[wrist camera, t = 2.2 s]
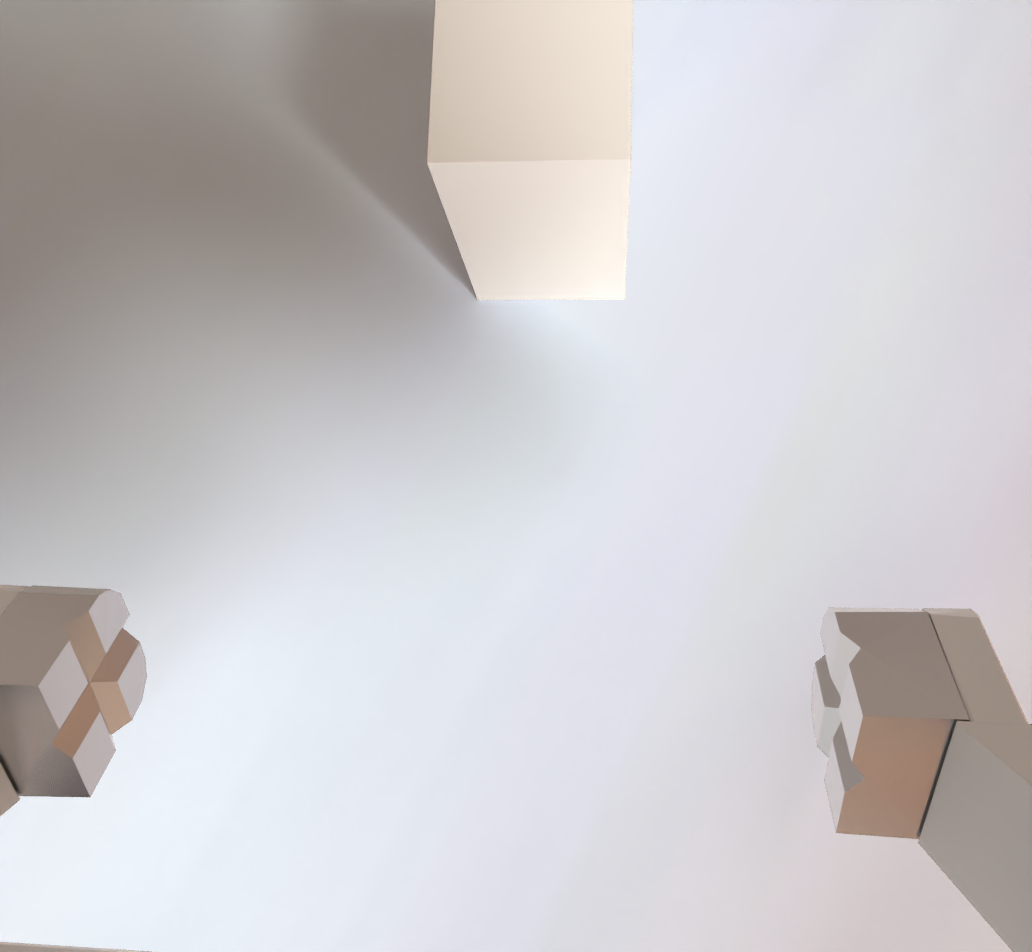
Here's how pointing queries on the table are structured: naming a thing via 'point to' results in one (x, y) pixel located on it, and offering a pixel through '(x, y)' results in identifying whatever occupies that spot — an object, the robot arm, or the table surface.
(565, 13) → the rail module
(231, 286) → the table surface
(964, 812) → the robot arm
